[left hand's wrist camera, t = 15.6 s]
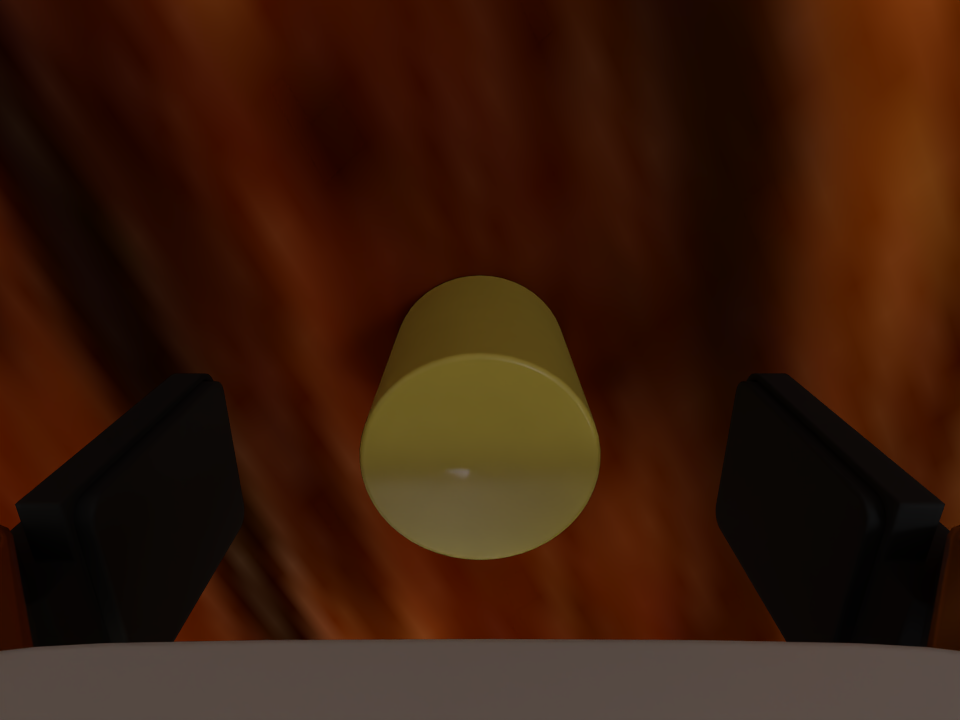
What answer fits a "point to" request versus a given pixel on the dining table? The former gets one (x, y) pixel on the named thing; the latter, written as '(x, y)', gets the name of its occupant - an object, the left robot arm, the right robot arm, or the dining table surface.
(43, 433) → the dining table surface
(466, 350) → the tin
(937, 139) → the dining table surface
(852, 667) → the left robot arm
